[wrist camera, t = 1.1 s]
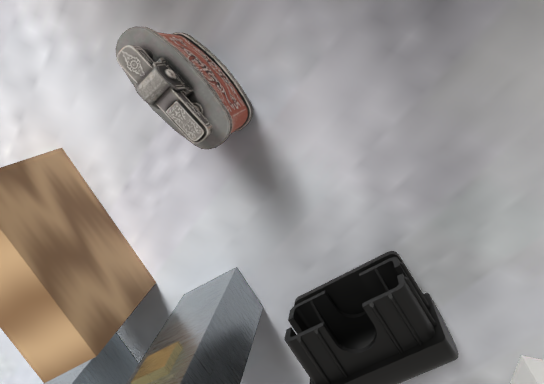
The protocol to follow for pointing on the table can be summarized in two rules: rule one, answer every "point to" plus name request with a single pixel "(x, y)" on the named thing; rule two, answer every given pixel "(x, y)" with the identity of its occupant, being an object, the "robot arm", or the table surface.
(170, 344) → the housing
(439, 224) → the table surface
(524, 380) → the robot arm
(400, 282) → the end cap
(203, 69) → the lighter
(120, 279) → the plug
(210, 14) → the table surface
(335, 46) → the table surface
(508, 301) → the table surface
